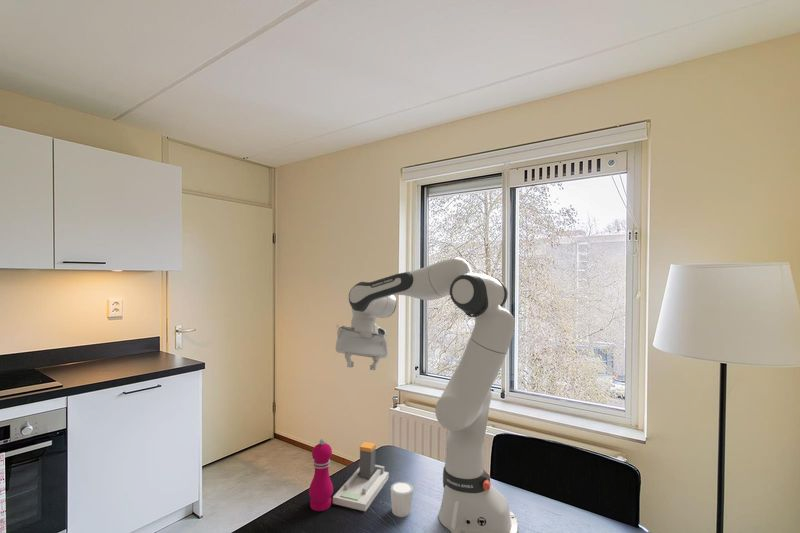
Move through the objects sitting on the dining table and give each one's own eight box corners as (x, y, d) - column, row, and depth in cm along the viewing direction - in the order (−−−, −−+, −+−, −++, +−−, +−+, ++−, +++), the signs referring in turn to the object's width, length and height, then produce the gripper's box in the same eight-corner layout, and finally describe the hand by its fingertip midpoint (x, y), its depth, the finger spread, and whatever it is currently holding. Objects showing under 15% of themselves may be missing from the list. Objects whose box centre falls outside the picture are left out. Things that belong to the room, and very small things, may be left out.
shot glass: (413, 518, 111) (413, 494, 111) (389, 517, 111) (390, 493, 111) (412, 504, 118) (413, 481, 118) (390, 503, 118) (390, 480, 118)
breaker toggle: (375, 473, 132) (375, 443, 132) (370, 479, 128) (371, 448, 128) (364, 471, 133) (364, 441, 133) (359, 477, 129) (359, 446, 129)
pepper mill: (319, 515, 112) (321, 446, 112) (303, 506, 116) (305, 439, 116) (337, 504, 117) (339, 438, 118) (321, 495, 122) (323, 432, 122)
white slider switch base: (388, 478, 133) (388, 466, 133) (365, 511, 114) (365, 497, 114) (359, 472, 137) (360, 461, 137) (332, 503, 118) (332, 490, 118)
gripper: (342, 322, 131) (340, 363, 125) (390, 332, 142) (390, 370, 137) (333, 327, 135) (331, 366, 129) (380, 335, 147) (379, 372, 141)
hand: (361, 368), depth 133 cm, fingers open, 8 cm apart
